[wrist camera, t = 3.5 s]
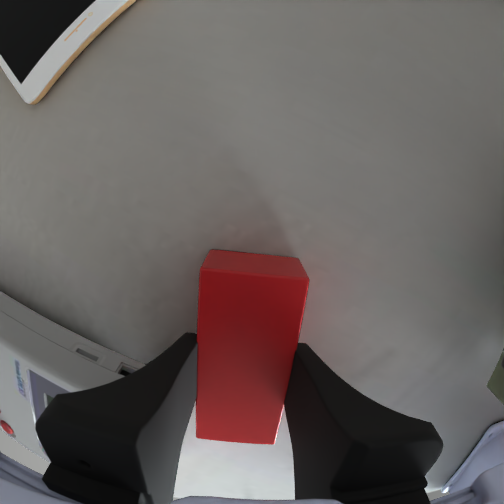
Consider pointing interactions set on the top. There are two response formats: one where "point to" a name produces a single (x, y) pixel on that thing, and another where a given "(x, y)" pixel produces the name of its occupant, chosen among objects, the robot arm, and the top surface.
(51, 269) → the top surface
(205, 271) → the red rectangular box
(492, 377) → the drawer
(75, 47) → the cell phone
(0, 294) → the handheld gaming device
